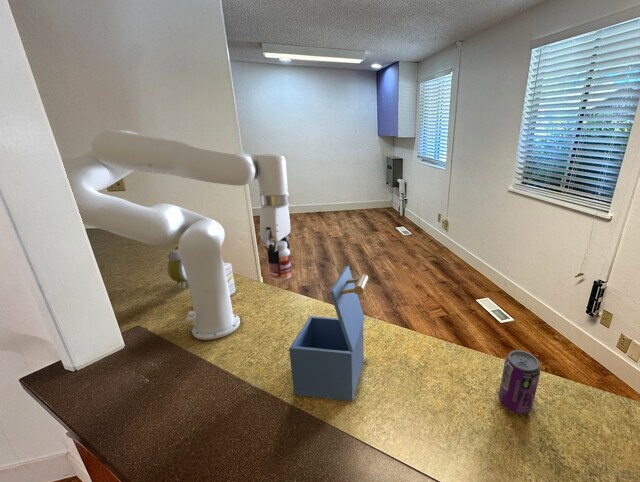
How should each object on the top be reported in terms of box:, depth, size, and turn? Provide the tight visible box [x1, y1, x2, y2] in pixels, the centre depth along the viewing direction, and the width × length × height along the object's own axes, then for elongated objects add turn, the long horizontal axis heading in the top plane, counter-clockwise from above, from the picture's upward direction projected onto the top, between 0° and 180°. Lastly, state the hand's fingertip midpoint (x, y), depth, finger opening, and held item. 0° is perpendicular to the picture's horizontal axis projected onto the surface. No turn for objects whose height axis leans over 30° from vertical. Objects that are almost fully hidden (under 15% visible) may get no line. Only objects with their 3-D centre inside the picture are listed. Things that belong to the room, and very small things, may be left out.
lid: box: [329, 265, 369, 352], centre depth 67 cm, size 14×13×6 cm
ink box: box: [224, 262, 236, 296], centre depth 108 cm, size 9×8×12 cm
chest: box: [288, 315, 365, 402], centre depth 72 cm, size 14×13×13 cm
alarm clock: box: [166, 249, 188, 290], centre depth 116 cm, size 12×7×15 cm, turn 179°
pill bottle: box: [268, 241, 292, 281], centre depth 92 cm, size 6×6×11 cm
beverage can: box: [498, 349, 541, 415], centre depth 66 cm, size 7×7×12 cm
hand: (279, 258), depth 92 cm, fingers closed on pill bottle, 6 cm apart
